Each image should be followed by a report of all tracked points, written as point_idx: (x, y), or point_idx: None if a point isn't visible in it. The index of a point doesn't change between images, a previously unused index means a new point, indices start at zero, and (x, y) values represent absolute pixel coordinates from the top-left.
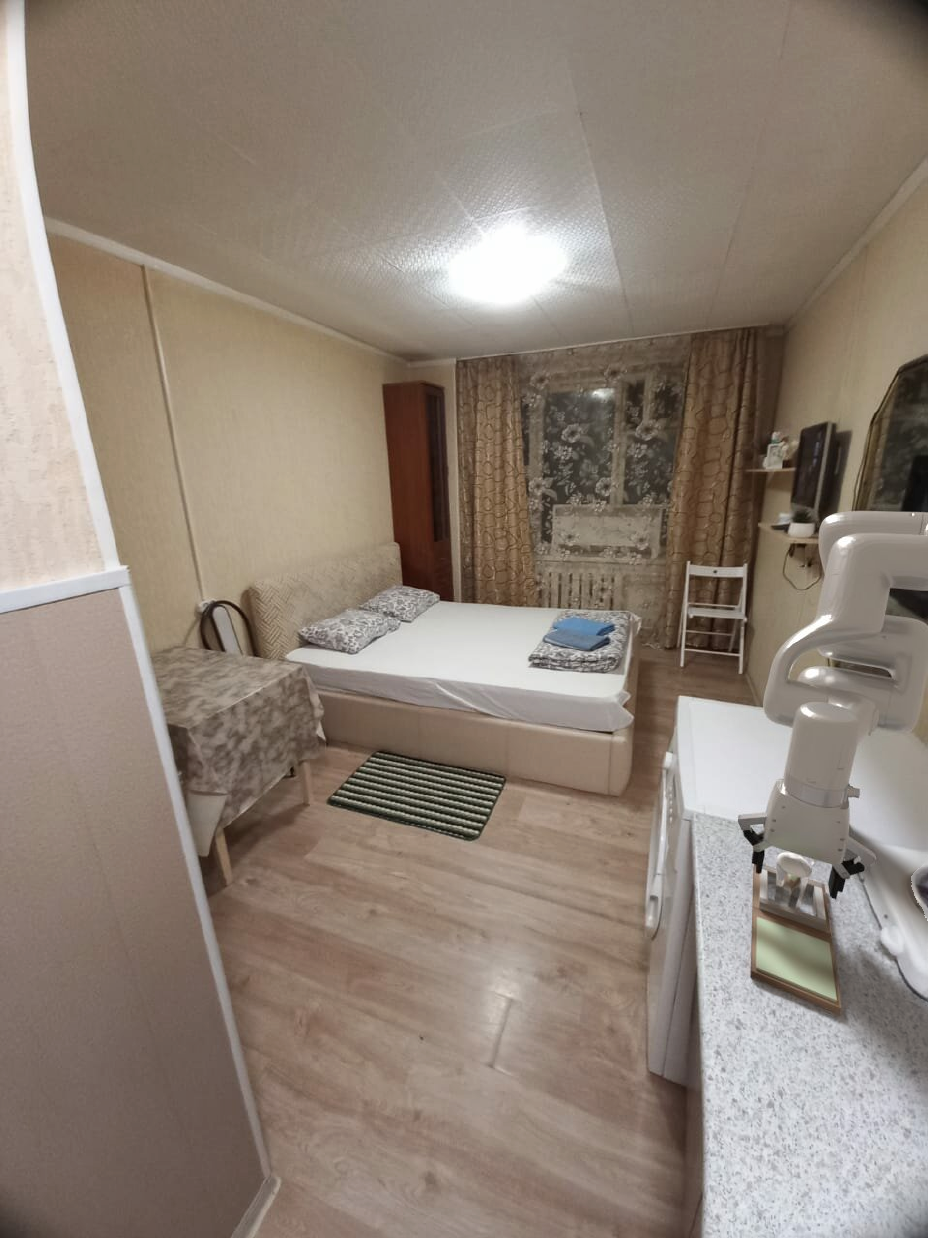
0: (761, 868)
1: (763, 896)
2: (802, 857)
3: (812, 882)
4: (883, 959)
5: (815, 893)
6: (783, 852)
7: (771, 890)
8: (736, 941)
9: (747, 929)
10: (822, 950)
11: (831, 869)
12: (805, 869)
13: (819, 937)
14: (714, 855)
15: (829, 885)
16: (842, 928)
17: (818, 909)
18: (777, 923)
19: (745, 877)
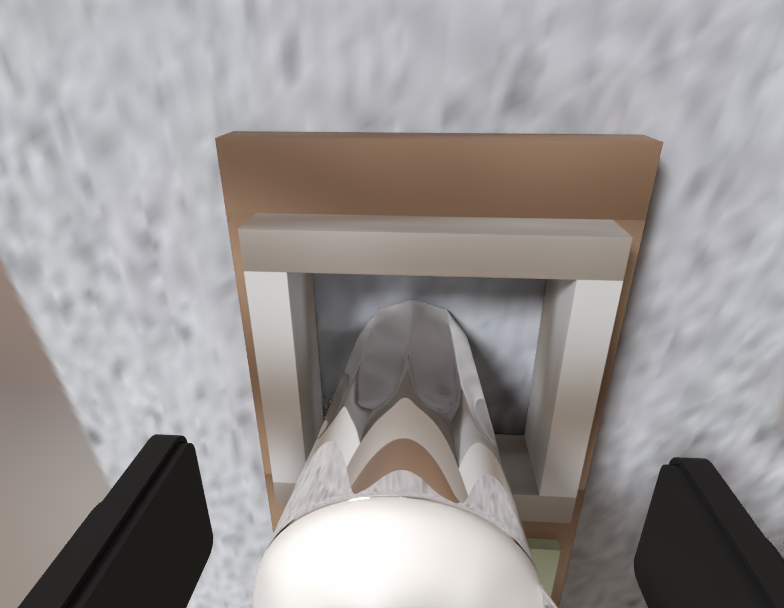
0: (187, 596)
1: (287, 473)
2: (475, 605)
3: (572, 249)
4: (773, 465)
5: (567, 342)
6: (291, 570)
7: (345, 281)
8: (245, 573)
9: (270, 522)
10: None
11: (749, 604)
12: None
13: (528, 521)
14: (4, 134)
15: (664, 525)
16: (655, 378)
17: (554, 454)
18: None
19: (209, 245)
